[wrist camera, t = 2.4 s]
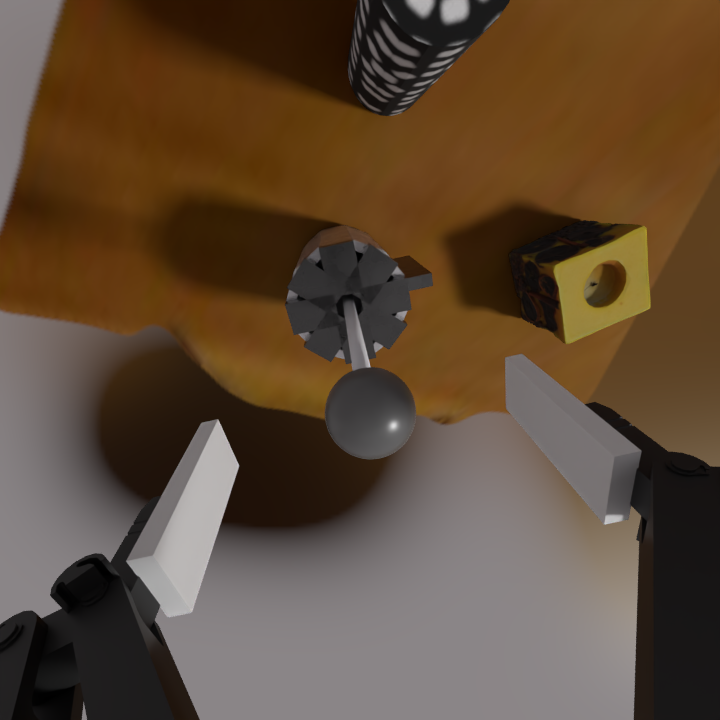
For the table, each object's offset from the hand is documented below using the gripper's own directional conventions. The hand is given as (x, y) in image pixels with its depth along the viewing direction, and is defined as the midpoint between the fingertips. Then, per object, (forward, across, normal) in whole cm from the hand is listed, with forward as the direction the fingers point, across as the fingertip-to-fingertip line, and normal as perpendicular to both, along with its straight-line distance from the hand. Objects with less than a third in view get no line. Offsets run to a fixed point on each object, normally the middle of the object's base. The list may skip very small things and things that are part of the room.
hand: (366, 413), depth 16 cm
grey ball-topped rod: (+22, 0, 0) cm, 22 cm away
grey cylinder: (+32, +2, 0) cm, 32 cm away
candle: (+32, +27, -6) cm, 42 cm away
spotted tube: (+32, +9, +19) cm, 38 cm away
